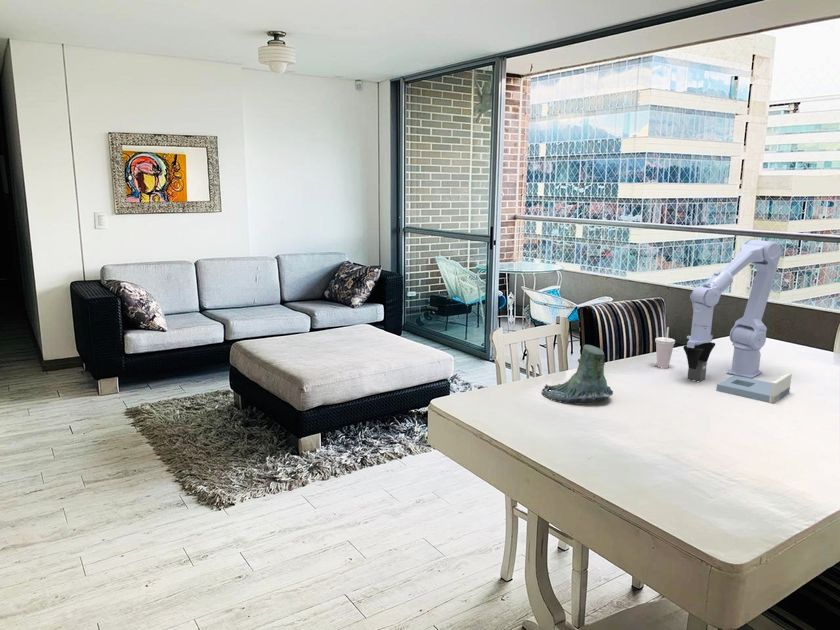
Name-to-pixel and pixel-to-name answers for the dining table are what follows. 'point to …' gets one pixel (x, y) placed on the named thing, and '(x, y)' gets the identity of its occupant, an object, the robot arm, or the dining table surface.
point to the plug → (698, 371)
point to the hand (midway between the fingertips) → (697, 366)
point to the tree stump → (583, 380)
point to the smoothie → (664, 350)
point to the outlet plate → (757, 388)
